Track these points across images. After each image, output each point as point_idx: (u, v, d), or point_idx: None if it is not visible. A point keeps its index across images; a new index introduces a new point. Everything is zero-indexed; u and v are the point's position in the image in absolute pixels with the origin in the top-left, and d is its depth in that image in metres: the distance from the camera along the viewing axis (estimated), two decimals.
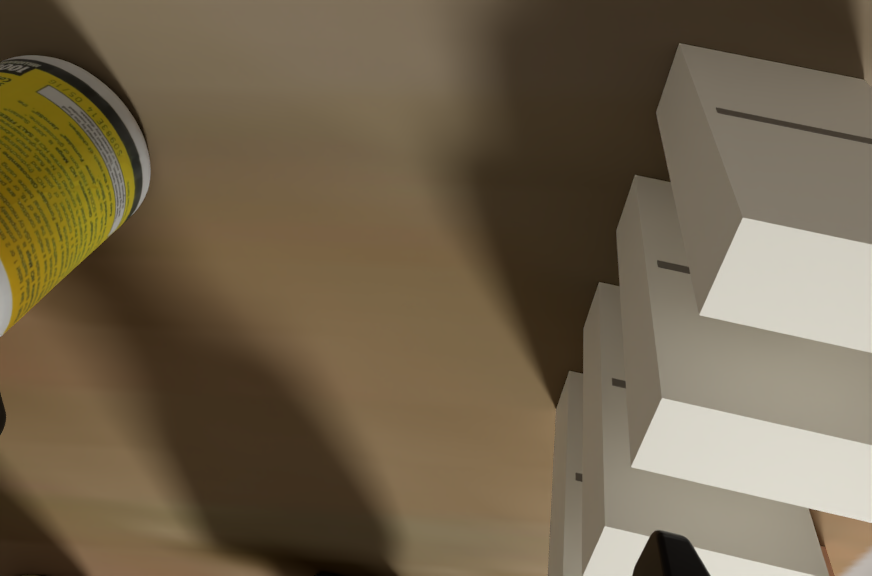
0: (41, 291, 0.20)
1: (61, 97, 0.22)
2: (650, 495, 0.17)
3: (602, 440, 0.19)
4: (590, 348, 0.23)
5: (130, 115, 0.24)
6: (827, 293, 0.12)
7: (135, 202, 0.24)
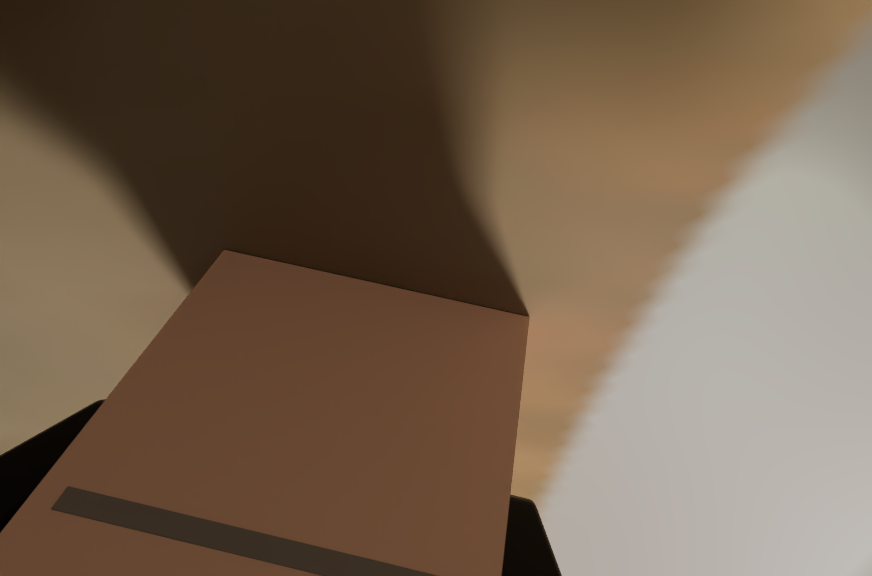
0: None
1: None
2: None
3: None
4: None
5: None
6: None
7: None
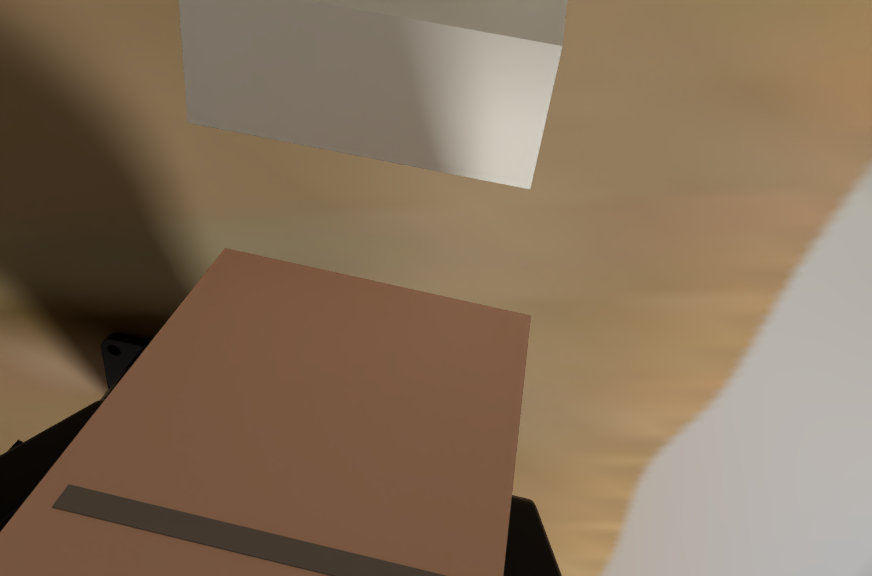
0: None
1: None
2: None
3: None
4: None
5: None
6: None
7: None
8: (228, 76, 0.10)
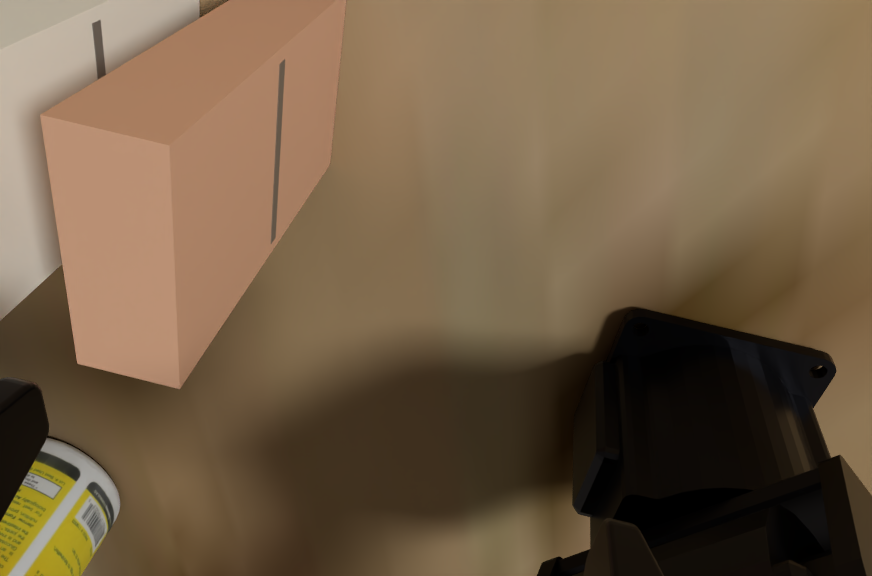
0: None
1: None
2: None
3: None
4: None
5: None
6: None
7: (55, 463, 0.30)
8: None
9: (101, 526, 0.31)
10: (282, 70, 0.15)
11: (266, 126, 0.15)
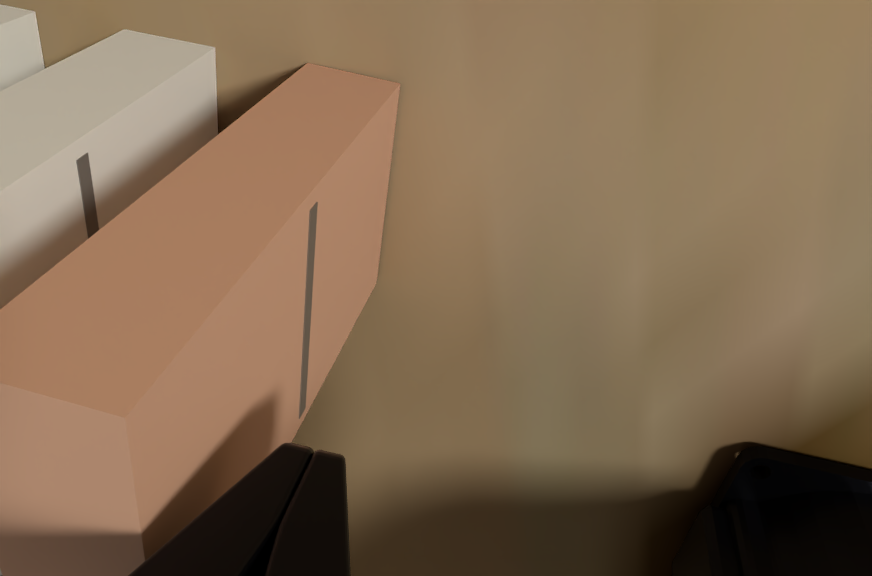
0: None
1: None
2: None
3: None
4: None
5: None
6: None
7: None
8: None
9: None
10: (313, 216, 0.11)
11: (292, 293, 0.11)
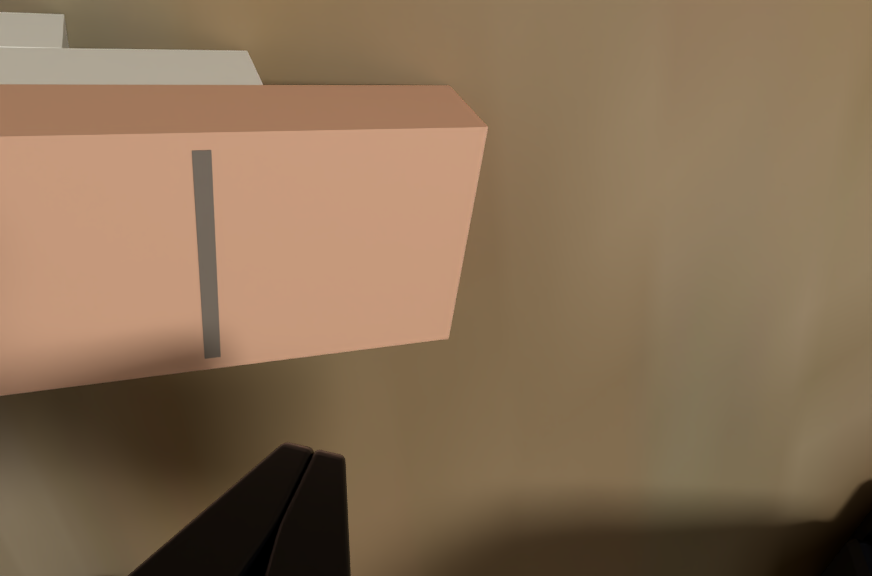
0: None
1: None
2: None
3: None
4: None
5: None
6: None
7: None
8: None
9: None
10: (204, 160, 0.12)
11: (157, 214, 0.12)
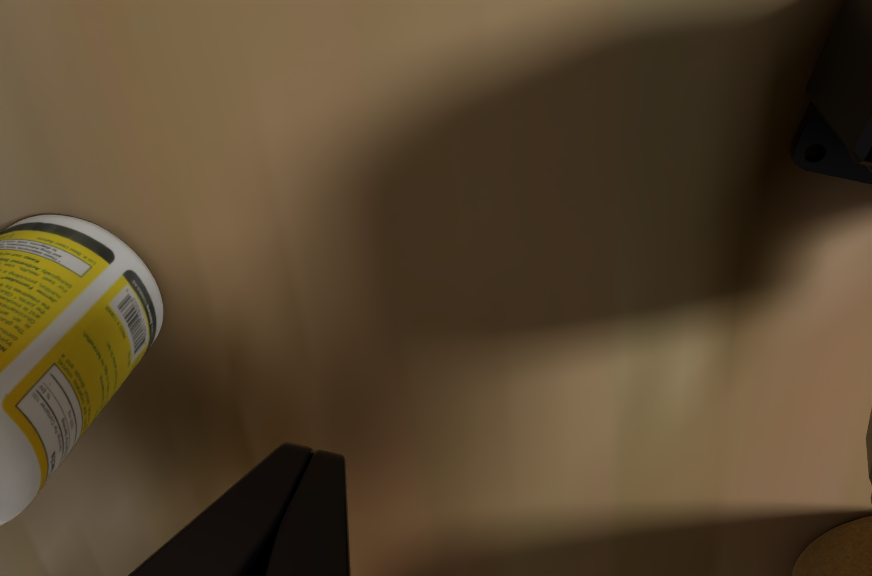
0: None
1: None
2: None
3: None
4: None
5: (22, 220, 0.25)
6: None
7: (82, 240, 0.23)
8: None
9: (142, 329, 0.24)
10: None
11: None
